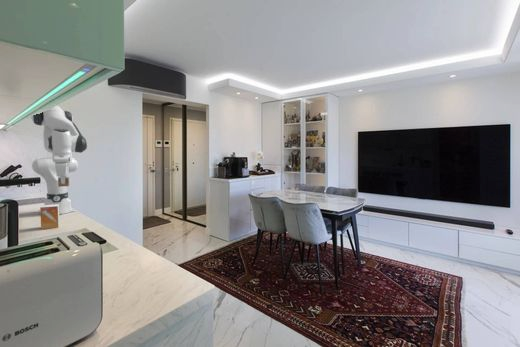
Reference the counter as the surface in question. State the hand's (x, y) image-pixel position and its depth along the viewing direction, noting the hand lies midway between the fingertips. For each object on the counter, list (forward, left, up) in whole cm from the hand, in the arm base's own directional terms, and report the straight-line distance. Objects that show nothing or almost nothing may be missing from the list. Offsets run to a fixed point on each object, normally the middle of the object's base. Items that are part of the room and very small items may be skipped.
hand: (63, 182), depth 147 cm
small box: (-10, -8, -28) cm, 30 cm away
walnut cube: (0, 0, -2) cm, 2 cm away
